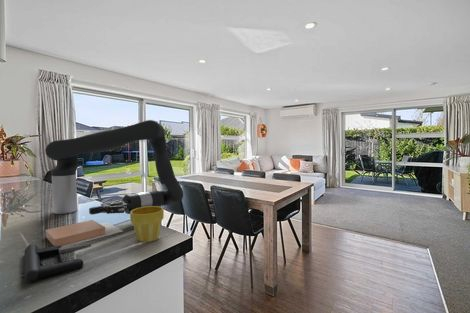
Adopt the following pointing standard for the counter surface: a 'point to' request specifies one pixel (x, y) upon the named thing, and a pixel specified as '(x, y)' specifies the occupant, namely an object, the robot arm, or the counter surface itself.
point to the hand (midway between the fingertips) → (90, 211)
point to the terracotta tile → (74, 232)
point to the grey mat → (108, 231)
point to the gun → (37, 272)
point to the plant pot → (147, 222)
